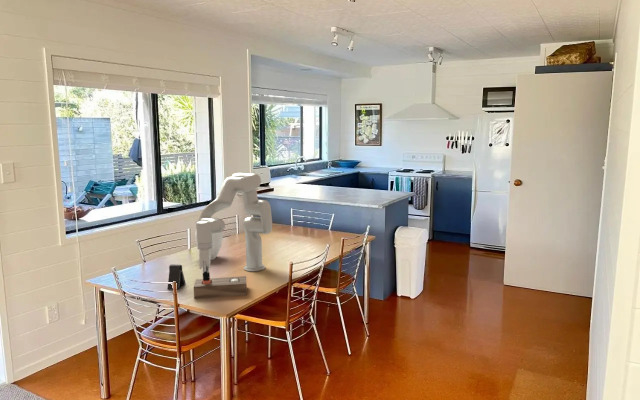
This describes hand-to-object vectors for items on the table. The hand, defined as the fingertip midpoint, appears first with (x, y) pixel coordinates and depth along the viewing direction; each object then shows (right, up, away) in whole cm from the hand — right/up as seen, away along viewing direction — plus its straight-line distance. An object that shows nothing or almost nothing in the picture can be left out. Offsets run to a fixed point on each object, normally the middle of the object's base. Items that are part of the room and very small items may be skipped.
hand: (206, 280), depth 237 cm
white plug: (+14, -6, +3) cm, 15 cm away
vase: (-14, +3, +65) cm, 67 cm away
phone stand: (-19, -6, +12) cm, 23 cm away
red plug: (0, -5, +1) cm, 6 cm away
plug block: (+7, -7, +2) cm, 10 cm away
